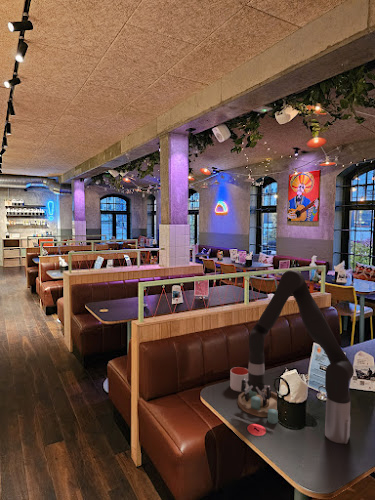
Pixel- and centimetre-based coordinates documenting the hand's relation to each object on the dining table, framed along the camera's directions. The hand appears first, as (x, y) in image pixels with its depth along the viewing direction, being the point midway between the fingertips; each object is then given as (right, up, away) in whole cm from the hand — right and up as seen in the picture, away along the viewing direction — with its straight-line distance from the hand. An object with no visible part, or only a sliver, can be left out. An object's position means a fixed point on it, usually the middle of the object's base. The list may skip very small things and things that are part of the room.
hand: (255, 403), depth 165 cm
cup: (-4, -2, +22) cm, 23 cm away
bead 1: (+1, -2, +12) cm, 12 cm away
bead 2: (0, -3, 0) cm, 3 cm away
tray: (+4, -4, +6) cm, 8 cm away
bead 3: (+6, -5, -9) cm, 12 cm away
